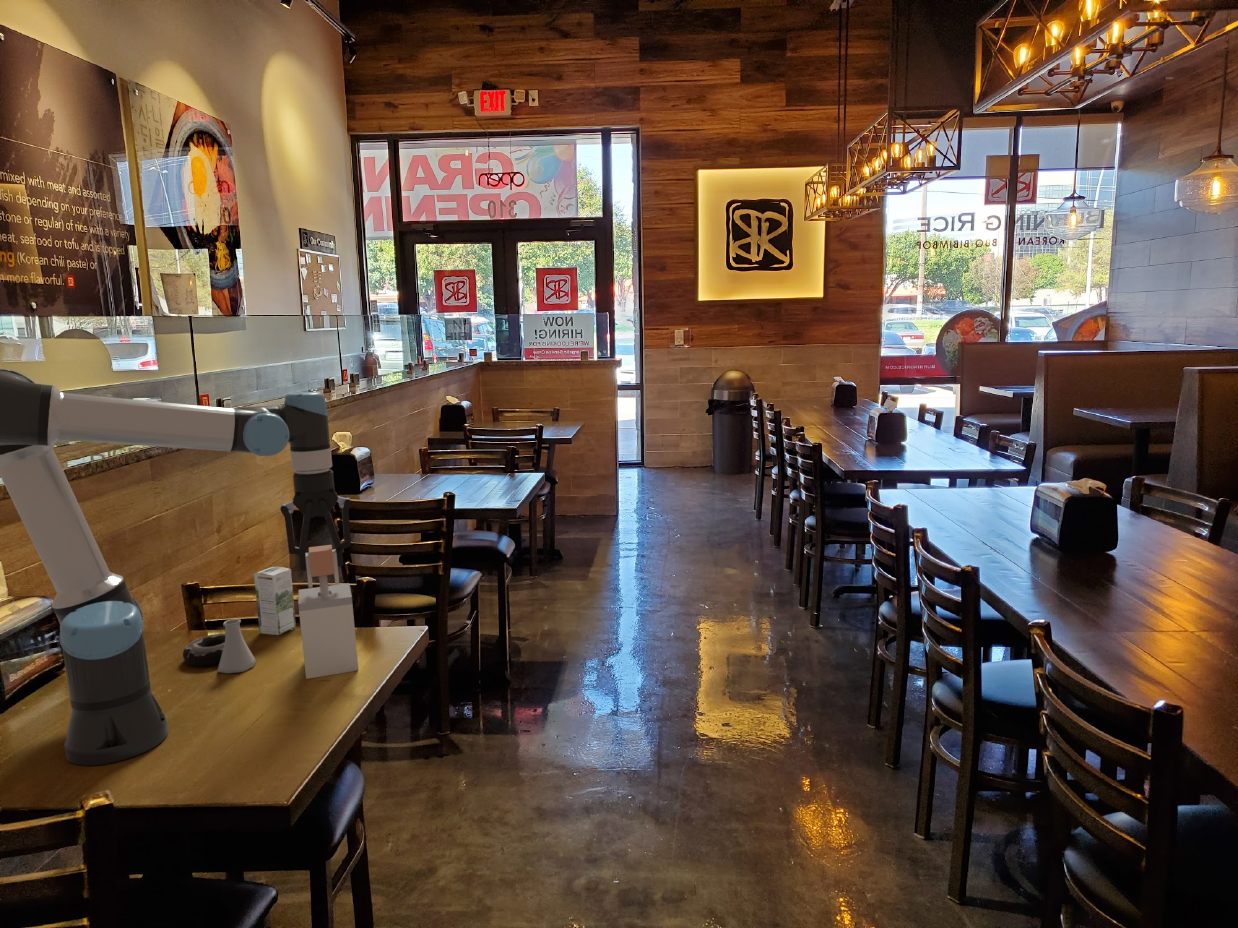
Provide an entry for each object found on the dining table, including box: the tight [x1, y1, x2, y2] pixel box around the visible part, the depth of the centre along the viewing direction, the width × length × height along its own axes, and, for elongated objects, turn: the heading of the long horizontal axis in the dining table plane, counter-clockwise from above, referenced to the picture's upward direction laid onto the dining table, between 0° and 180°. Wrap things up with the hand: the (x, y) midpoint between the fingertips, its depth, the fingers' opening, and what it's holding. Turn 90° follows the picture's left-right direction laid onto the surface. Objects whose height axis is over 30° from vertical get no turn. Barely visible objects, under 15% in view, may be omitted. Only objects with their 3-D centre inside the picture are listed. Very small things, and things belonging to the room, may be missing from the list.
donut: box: [182, 633, 226, 667], centre depth 182 cm, size 12×12×4 cm
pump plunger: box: [308, 544, 335, 596], centre depth 173 cm, size 4×4×20 cm
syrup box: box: [253, 566, 297, 636], centre depth 196 cm, size 6×6×14 cm
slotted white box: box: [297, 582, 359, 680], centre depth 174 cm, size 10×10×16 cm
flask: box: [217, 618, 257, 674], centre depth 176 cm, size 7×7×10 cm
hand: (323, 583), depth 173 cm, fingers closed on pump plunger, 4 cm apart
